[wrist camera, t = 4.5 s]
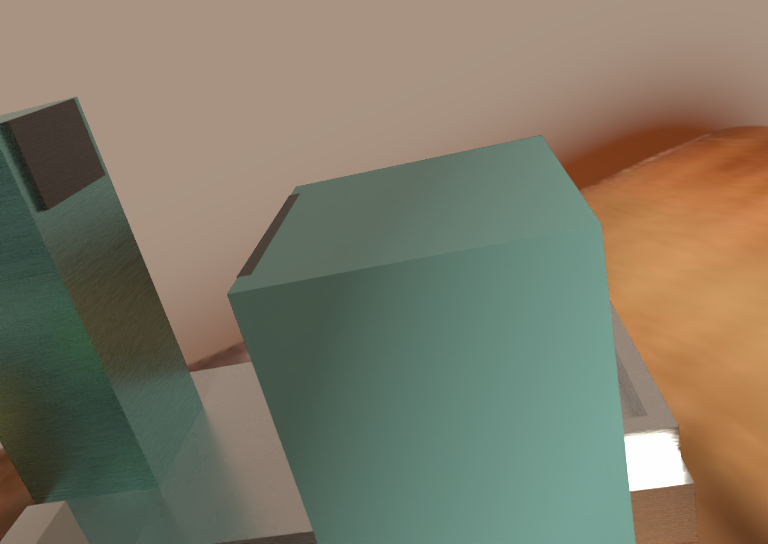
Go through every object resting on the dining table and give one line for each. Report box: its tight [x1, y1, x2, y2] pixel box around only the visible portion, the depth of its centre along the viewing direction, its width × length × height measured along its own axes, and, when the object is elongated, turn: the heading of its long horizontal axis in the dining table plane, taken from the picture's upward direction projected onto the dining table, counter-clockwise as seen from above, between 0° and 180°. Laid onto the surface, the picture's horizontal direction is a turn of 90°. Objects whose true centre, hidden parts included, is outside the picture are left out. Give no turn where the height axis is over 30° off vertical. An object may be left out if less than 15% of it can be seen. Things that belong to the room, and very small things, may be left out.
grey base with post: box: [0, 97, 698, 544], centre depth 21 cm, size 20×10×14 cm, turn 87°
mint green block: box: [227, 135, 636, 544], centre depth 12 cm, size 4×4×12 cm
